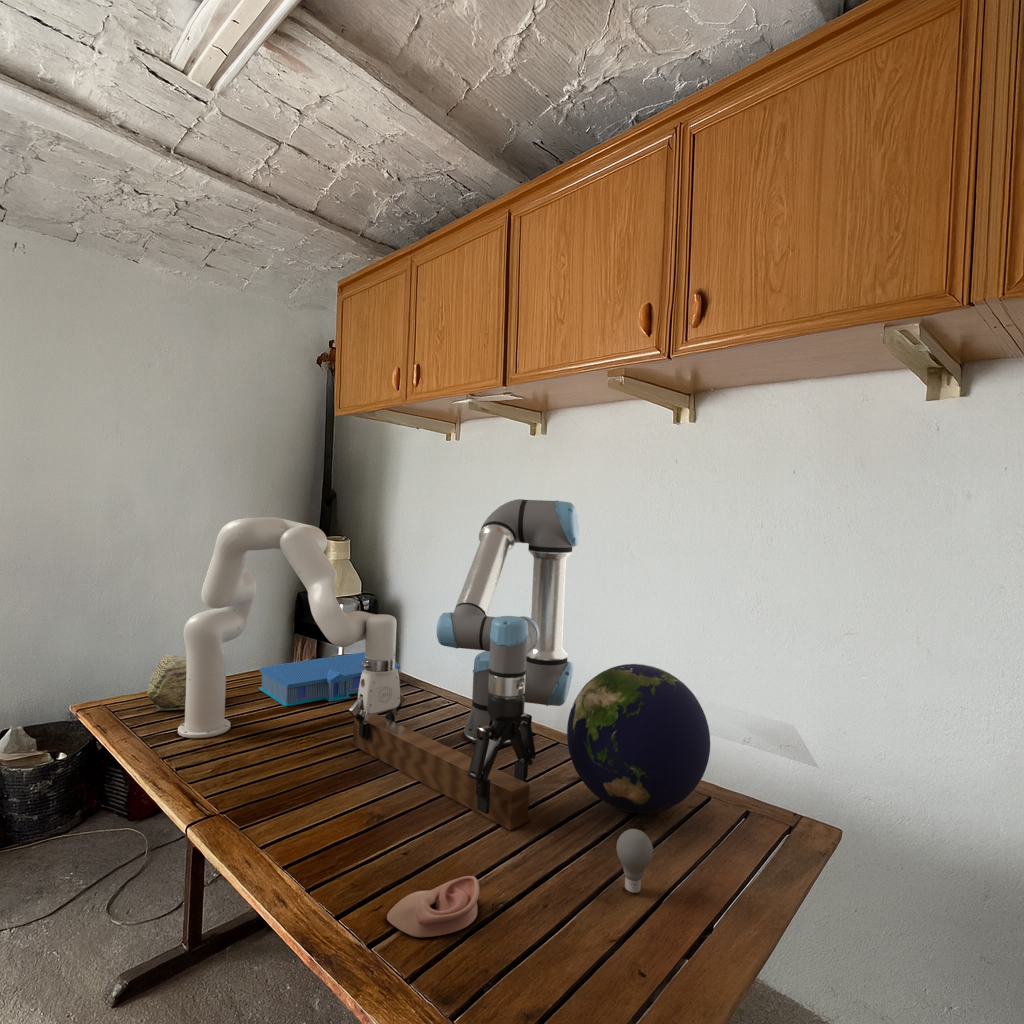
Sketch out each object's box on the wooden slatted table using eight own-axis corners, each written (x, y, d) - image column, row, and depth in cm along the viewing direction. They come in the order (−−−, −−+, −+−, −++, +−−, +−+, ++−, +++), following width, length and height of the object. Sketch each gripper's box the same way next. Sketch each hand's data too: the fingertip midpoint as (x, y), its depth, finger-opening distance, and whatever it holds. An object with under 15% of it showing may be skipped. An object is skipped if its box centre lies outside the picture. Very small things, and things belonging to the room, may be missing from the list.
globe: (544, 820, 127) (551, 672, 127) (585, 765, 155) (590, 643, 155) (698, 858, 116) (706, 696, 116) (712, 791, 144) (719, 660, 143)
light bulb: (610, 879, 108) (613, 822, 108) (644, 879, 109) (647, 822, 109) (619, 902, 102) (622, 840, 102) (655, 901, 103) (658, 840, 103)
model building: (289, 709, 186) (291, 675, 185) (258, 688, 204) (259, 657, 204) (403, 687, 212) (405, 657, 212) (366, 670, 230) (368, 643, 230)
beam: (352, 745, 162) (354, 715, 162) (369, 740, 166) (371, 711, 165) (510, 830, 123) (512, 791, 123) (527, 821, 127) (529, 783, 127)
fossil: (144, 707, 182) (145, 655, 182) (212, 696, 194) (213, 647, 194) (151, 716, 175) (153, 662, 175) (221, 703, 188) (223, 653, 188)
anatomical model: (379, 903, 93) (407, 860, 104) (378, 930, 93) (406, 884, 105) (466, 919, 91) (485, 873, 102) (464, 947, 91) (484, 898, 102)
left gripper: (358, 673, 150) (355, 747, 151) (416, 662, 163) (413, 730, 163) (341, 666, 156) (338, 738, 156) (399, 656, 168) (396, 722, 168)
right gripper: (478, 710, 118) (473, 828, 118) (556, 688, 134) (551, 792, 134) (452, 700, 123) (447, 813, 123) (529, 680, 139) (525, 780, 140)
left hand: (376, 734), depth 160 cm, fingers open, 7 cm apart
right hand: (501, 802), depth 129 cm, fingers open, 10 cm apart
